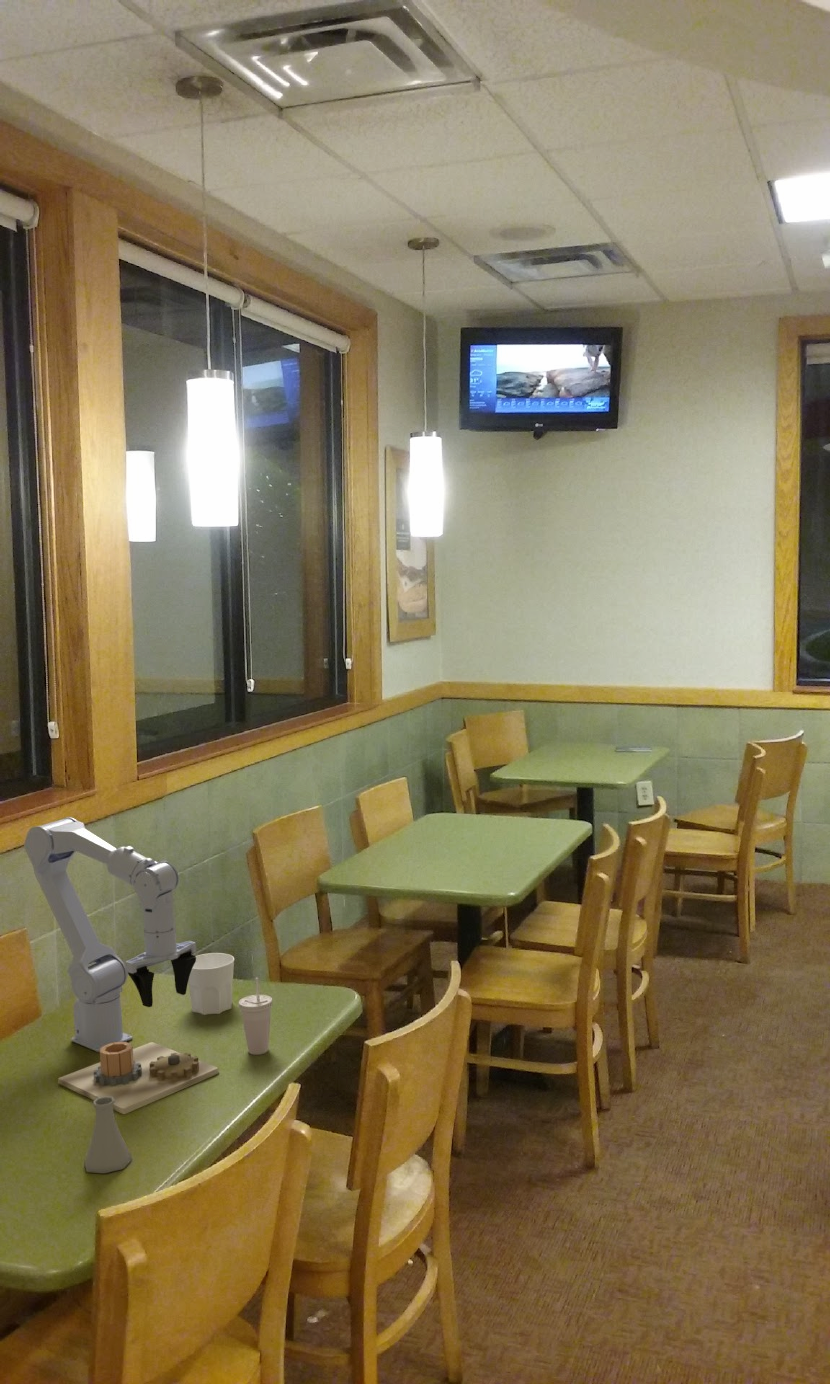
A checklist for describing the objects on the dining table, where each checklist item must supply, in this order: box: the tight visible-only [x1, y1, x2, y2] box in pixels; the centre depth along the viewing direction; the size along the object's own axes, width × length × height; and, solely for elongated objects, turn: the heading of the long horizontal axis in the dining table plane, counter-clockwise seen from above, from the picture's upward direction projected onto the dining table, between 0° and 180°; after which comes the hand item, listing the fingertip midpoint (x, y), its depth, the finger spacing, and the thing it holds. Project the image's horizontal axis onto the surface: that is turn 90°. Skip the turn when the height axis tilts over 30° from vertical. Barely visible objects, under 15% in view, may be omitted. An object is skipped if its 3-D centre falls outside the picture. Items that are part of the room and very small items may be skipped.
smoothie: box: [238, 977, 274, 1056], centre depth 221 cm, size 6×6×14 cm
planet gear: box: [94, 1041, 142, 1086], centre depth 210 cm, size 8×8×5 cm
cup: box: [187, 952, 235, 1016], centre depth 244 cm, size 10×10×10 cm
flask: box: [83, 1096, 133, 1174], centre depth 181 cm, size 7×7×10 cm
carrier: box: [57, 1041, 220, 1115], centre depth 211 cm, size 20×20×4 cm
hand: (164, 999), depth 221 cm, fingers open, 7 cm apart
